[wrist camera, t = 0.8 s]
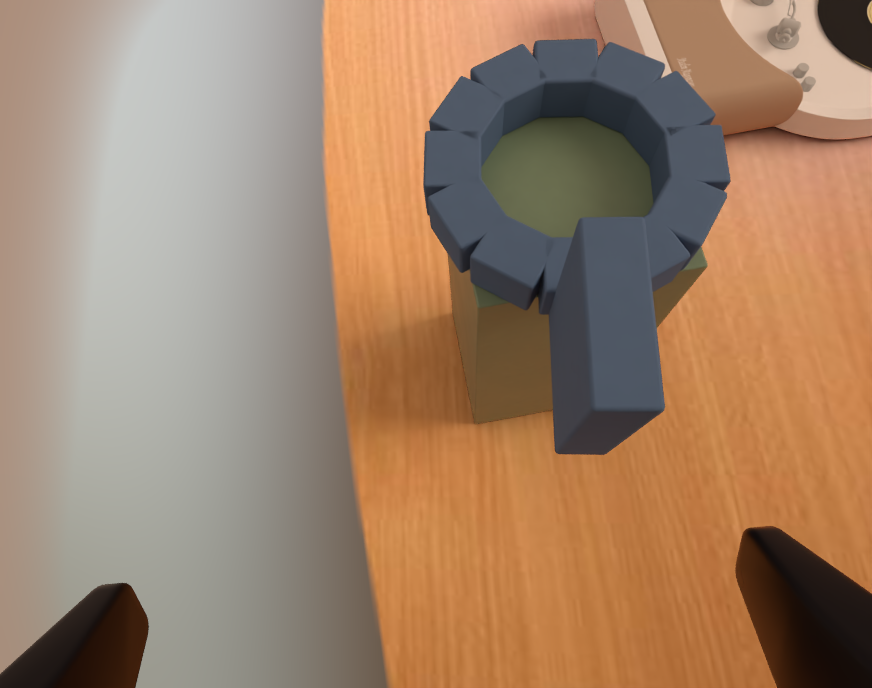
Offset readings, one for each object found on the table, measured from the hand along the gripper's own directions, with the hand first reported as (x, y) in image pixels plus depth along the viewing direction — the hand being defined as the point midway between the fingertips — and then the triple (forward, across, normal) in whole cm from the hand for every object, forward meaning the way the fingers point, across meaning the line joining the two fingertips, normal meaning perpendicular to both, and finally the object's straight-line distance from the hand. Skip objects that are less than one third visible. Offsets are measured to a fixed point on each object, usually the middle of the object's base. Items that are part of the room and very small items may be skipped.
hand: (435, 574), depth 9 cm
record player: (+27, -20, -4) cm, 33 cm away
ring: (+6, -3, -2) cm, 8 cm away
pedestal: (+16, -3, +6) cm, 17 cm away
